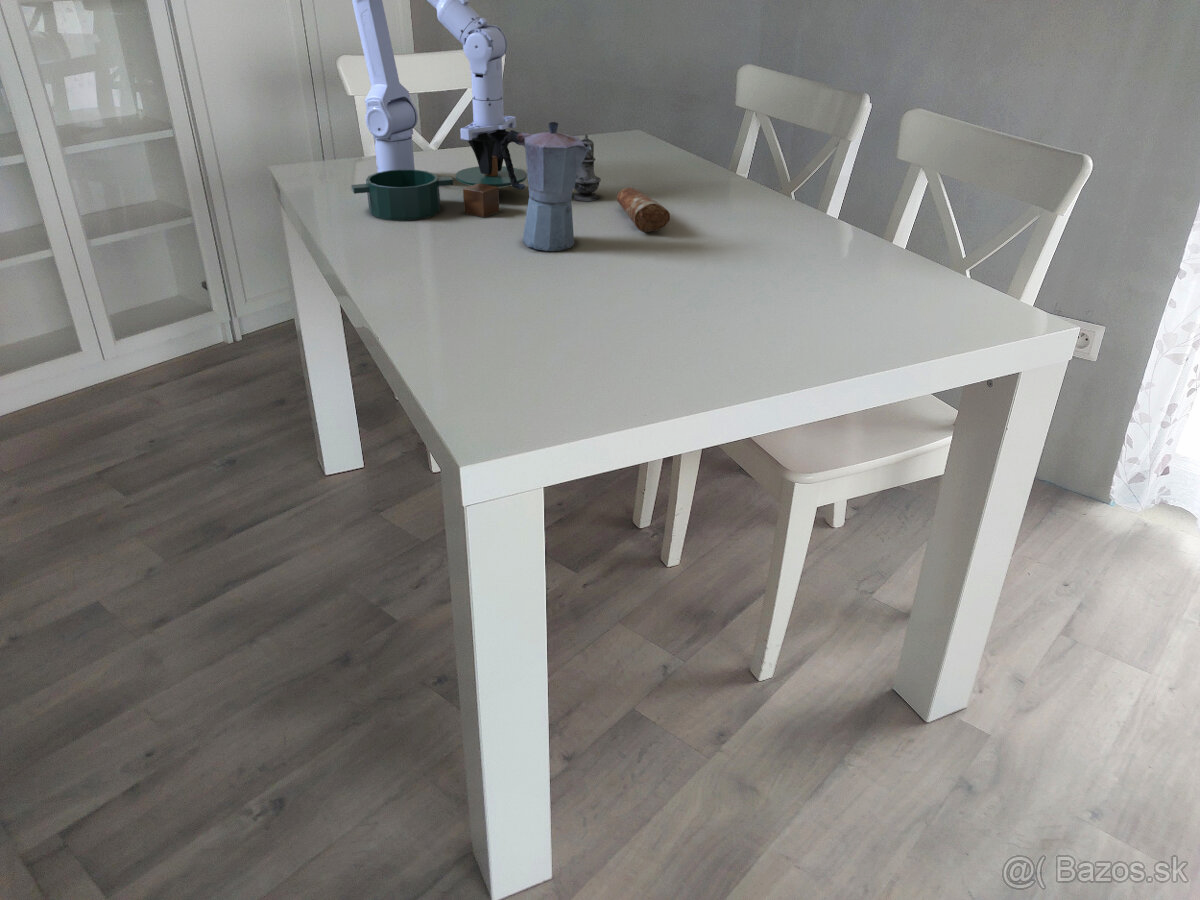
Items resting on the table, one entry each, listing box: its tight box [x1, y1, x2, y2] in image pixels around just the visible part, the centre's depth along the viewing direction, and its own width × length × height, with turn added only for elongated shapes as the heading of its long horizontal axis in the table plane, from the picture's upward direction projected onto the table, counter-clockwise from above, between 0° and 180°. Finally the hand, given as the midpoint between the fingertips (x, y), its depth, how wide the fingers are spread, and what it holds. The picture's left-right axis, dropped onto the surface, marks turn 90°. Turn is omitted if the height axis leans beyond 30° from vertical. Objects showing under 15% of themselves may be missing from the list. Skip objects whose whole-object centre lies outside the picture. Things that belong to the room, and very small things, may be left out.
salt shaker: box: [571, 133, 602, 202], centre depth 180 cm, size 6×6×12 cm
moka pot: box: [500, 121, 592, 252], centre depth 153 cm, size 10×15×20 cm, turn 78°
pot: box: [351, 169, 454, 222], centre depth 172 cm, size 13×18×6 cm
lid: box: [454, 156, 528, 188], centre depth 180 cm, size 14×14×4 cm
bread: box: [616, 187, 671, 233], centre depth 170 cm, size 6×19×6 cm, turn 11°
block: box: [462, 183, 500, 218], centre depth 172 cm, size 5×5×5 cm
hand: (490, 171), depth 181 cm, fingers closed on lid, 2 cm apart
